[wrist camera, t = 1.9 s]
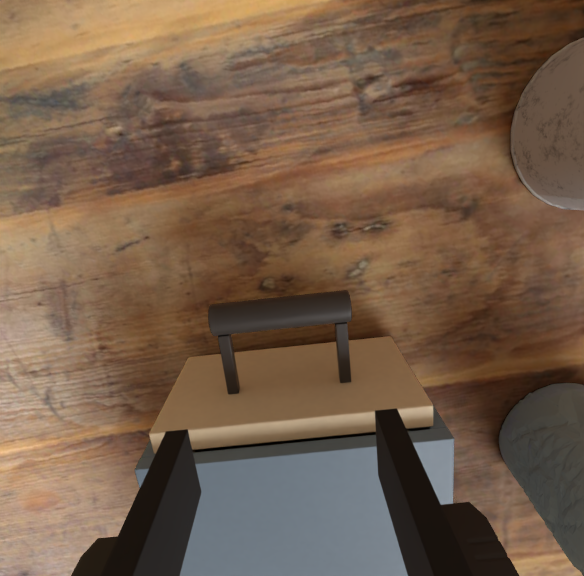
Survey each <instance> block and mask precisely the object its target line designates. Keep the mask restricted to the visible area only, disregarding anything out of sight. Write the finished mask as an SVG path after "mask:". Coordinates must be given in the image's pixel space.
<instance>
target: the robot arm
mask: <svg viewBox="0 0 584 576" xmlns="http://www.w3.org/2000/svg"><path fill="white" fill-rule="evenodd" d="M375 425H376V444H377V463H378V476H379V480H380V483H381V487H382V490H383V493H384V497H385V500H386V503H387V507H388V510H389V514H390V517H391V520H392V524H393V527H394V530H395V534H396V537H397V541H398V544H399V547H400V551H401V554H402V558H403V561H404V564H405V568H406V571H407V574H408V576H519V574H518V573H517V571H516V569H515V567H514V566H513V564H512V562H511V560H510V559H509V558H508V557H507V553H506V552H505V550H504V548H503V546H502V544H501V543H500V541H498V538H497V536H496V534H495V532H494V530H493V529H492V527H491V525H490V523H489V522H488V520H487V518H486V517H485V516H484V515H483V514H482V513H481V512H480V511H478V510H477V509H476V508H475V507H474V506H473V505H472V504H471V503H470V502H465V503H454V504H444V505H441V504H440V502H439V500H438V497H437V495H436V493H435V491H434V489H433V487H432V484H431V482H430V480H429V478H428V476H427V473H426V471H425V469H424V467H423V465H422V462H421V460H420V458H419V456H418V454H417V451H416V449H415V447H414V445H413V443H412V440H411V438H410V436H409V434H408V432H407V429H406V427H405V425H404V423H403V421H402V418H401V416H400V414H399V412H398V410H397V408H395V409H385V410H375ZM200 496H201V487H200V483H199V478H198V474H197V469H196V465H195V460H194V456H193V451H192V447H191V442H190V438H189V433H188V429H185V430H175V431H166V432H165V435H164V437H163V439H162V441H161V443H160V446H159V448H158V450H157V452H156V454H155V456H154V459H153V461H152V463H151V465H150V467H149V470H148V472H147V474H146V476H145V478H144V481H143V483H142V485H141V487H140V489H139V492H138V494H137V496H136V498H135V500H134V502H133V505H132V507H131V509H130V511H129V513H128V516H127V518H126V520H125V522H124V524H123V527H122V529H121V531H120V533H119V535H118V537H108V538H98V539H97V540H96V541H95V542H94V543H93V544H92V545H91V547H90V548H89V549H88V550H87V551H86V552H85V553H84V554H83V555H82V557H81V558H80V560H79V562H78V564H77V566H76V567H75V569H74V571H73V573H72V575H71V576H180V572H181V569H182V565H183V561H184V557H185V553H186V550H187V546H188V542H189V538H190V534H191V530H192V527H193V523H194V519H195V515H196V511H197V508H198V504H199V500H200Z"/></svg>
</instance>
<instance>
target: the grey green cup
mask: <svg viewBox="0 0 584 576" xmlns="http://www.w3.org/2000/svg"><path fill="white" fill-rule="evenodd" d="M499 447H500V451H501V454H502V457H503V460H504V462H505V464H506V465H507V467H508V468H509V470H510V471H511V473H512V474H513V476H514V477H515V479H516V480H517V481H518V483H519V484H520V486H521V487H522V488H523V489H524V492H525V493H526V495H527V496H528V497H529V499H530V501H531V502H532V503H533V505H534V508H535V509H536V511H537V512H538V514H539V515H540V516H541V517H542V519H543V520H544V521H545V524H546V526H547V527H548V529H549V530H550V531H551V532H552V533H553V536H554V538H555V539H556V541H557V542H558V544H559V545H560V547H561V548H562V550H563V551H564V553H565V554H566V556H567V557H568V559H569V560H570V561H571V563H572V564H573V566H574V567H576V568H577V569H578V570H580V571H581V572H582V575H583V576H584V385H582V384H576V383H559V384H552V385H549V386H546V387H543V388H541V389H538V390H536V391H535V392H533V393H529V394H528V395H527V396H526V397H525V398H524V399H523V400H520V401H519V402H518V404H516V405H515V406H514V407H513V409H512V410H511V411H510V413H509V414H508V416H507V417H506V419H505V421H504V423H503V425H502V429H501V430H500V435H499Z"/></svg>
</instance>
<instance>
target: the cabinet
mask: <svg viewBox="0 0 584 576" xmlns="http://www.w3.org/2000/svg"><path fill="white" fill-rule="evenodd" d="M398 349H399V348H398ZM401 354H402V353H401ZM404 359H405V358H404ZM406 362H407V361H406ZM409 367H410V366H409ZM412 372H413V371H412ZM414 375H415V374H414ZM417 380H418V379H417ZM420 385H421V384H420ZM422 388H423V387H422ZM423 390H424V389H423ZM425 393H426V392H425ZM428 398H429V397H428ZM431 403H432V402H431ZM408 434H409V436H410V438H411V440H412V443H413V445H414V447H415V449H416V451H417V454H418V456H419V458H420V460H421V462H422V465H423V467H424V469H425V471H426V473H427V476H428V478H429V480H430V482H431V484H432V487H433V489H434V491H435V493H436V495H437V497H438V500H439V502H440V504H441V505H444V504H453V470H454V438H453V436H452V434H451V433H450V431H449V429H448V428H447V427H446V425H445V423H444V422H443V420H442V418H441V417H440V415H439V414H438V412H437V410H436V409H435V407H434V405H433V426H430V427H420V428H410V429H409V431H408ZM154 456H155V453H154V452H153V448H152V444H151V440H150V441H149V443H148V445H147V447H146V449H145V451H144V453H143V455H142V457H141V458H140V460H139V462H138V464H137V466H136V468H135V474H136V477H137V481H138V484H139V488H140V487H141V485H142V483H143V481H144V478H145V476H146V474H147V472H148V470H149V467H150V465H151V463H152V461H153V459H154ZM193 456H194V460H195V465H196V469H197V474H198V478H199V483H200V487H201V496H200V500H199V504H198V508H197V511H196V515H195V519H194V523H193V527H192V530H191V534H190V538H189V542H188V546H187V550H186V553H185V557H184V561H183V565H182V569H181V572H180V576H408V574H407V571H406V568H405V564H404V561H403V558H402V554H401V551H400V547H399V544H398V541H397V537H396V534H395V530H394V527H393V524H392V520H391V517H390V514H389V510H388V507H387V503H386V500H385V497H384V493H383V490H382V487H381V483H380V480H379V476H378V463H377V444H376V435H368V436H358V437H347V438H337V439H327V440H317V441H307V442H297V443H287V444H277V445H266V446H256V447H246V448H236V449H226V450H216V451H206V452H196V453H193Z"/></svg>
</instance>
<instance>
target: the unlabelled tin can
mask: <svg viewBox="0 0 584 576" xmlns="http://www.w3.org/2000/svg"><path fill="white" fill-rule="evenodd" d="M510 134H511V154H512V159H513V163H514V167H515V170H516V172H517V173H518V175H519V177H520V179H521V181H522V183H523V184H524V185H525V186H526V188H527V189H528V190H529V191H530V192H531V193H532V194H533V195H534V196H535V197H537V198H539V199H540V200H542V201H543V202H545V203H546V204H549V205H552V206H555V207H558V208H561V209H570V210H584V38H581V39H579V40H577V41H574V42H572V43H570V44H568V45H567V46H565V47H564V48H562V49H561V50H559V51H558V52H557V53H555V54H554V55H552V56H551V57H550V58H549V59H548V60H547V61H546V62H545V63H544V64H543V65H542V66H541V67H540V68H539V69H538V70H537V71H536V73H535V74H534V75H533V77H532V78H531V80H530V82H529V83H528V85H527V86H526V88H525V89H524V91H523V92H522V95H521V97H520V100H519V102H518V104H517V107H516V109H515V112H514V117H513V122H512V126H511V131H510Z"/></svg>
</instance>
